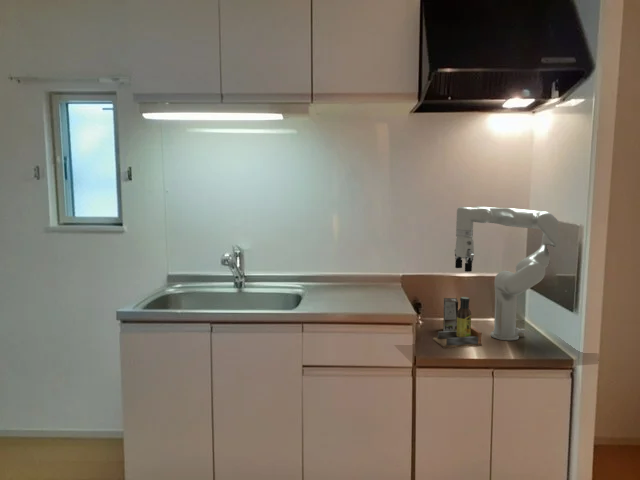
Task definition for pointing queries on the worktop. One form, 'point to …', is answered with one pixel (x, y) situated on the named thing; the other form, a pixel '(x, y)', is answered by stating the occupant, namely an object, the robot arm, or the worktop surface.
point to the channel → (458, 339)
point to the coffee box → (450, 314)
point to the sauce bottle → (464, 319)
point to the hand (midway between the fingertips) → (463, 269)
